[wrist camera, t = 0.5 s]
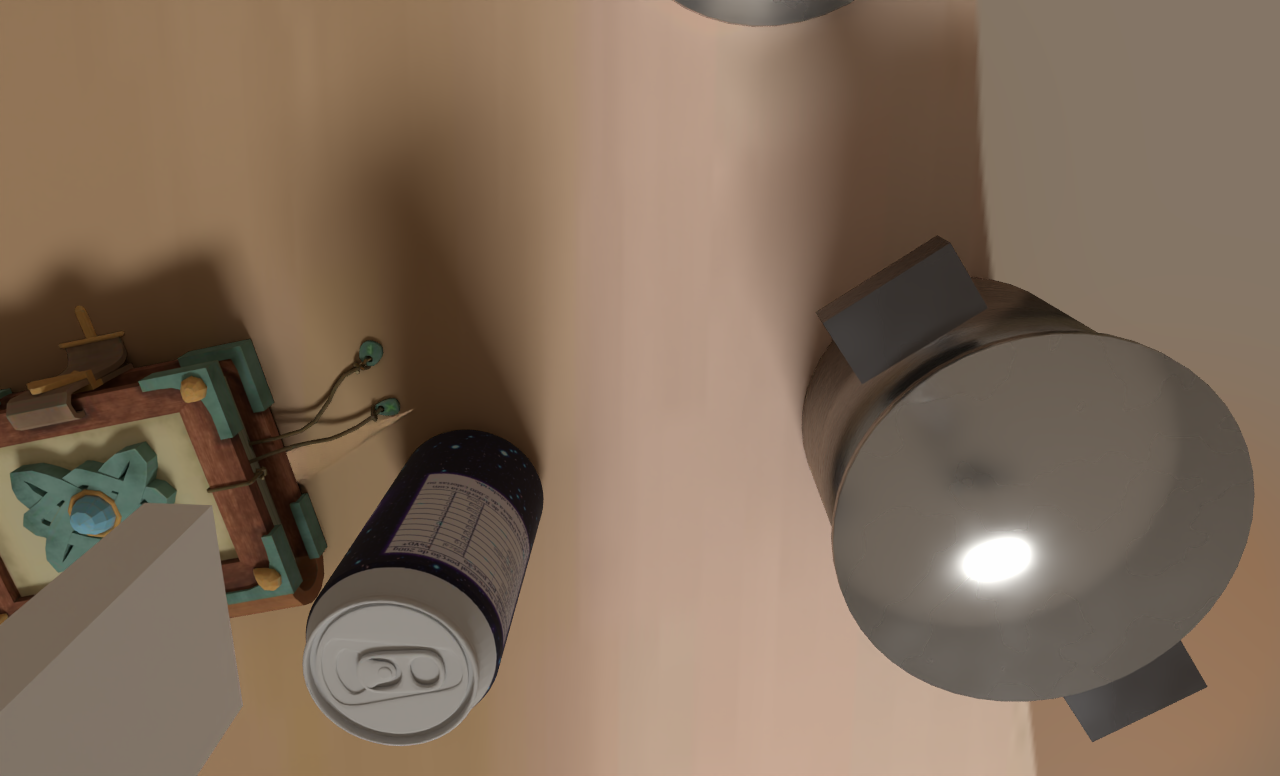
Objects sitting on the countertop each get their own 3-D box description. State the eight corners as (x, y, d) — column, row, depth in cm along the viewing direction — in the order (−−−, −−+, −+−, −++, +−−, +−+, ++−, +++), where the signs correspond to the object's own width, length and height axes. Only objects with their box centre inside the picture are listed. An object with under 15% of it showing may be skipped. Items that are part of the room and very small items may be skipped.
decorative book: (451, 553, 37) (420, 622, 33) (66, 621, 39) (-16, 697, 34) (353, 243, 33) (301, 271, 28) (-75, 334, 35) (-191, 375, 30)
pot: (918, 649, 38) (992, 815, 29) (693, 324, 33) (704, 409, 25) (1185, 508, 35) (1350, 645, 27) (981, 136, 31) (1102, 160, 22)
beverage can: (396, 424, 35) (268, 590, 24) (539, 417, 35) (479, 582, 23) (417, 550, 37) (308, 761, 26) (552, 545, 37) (503, 755, 25)
